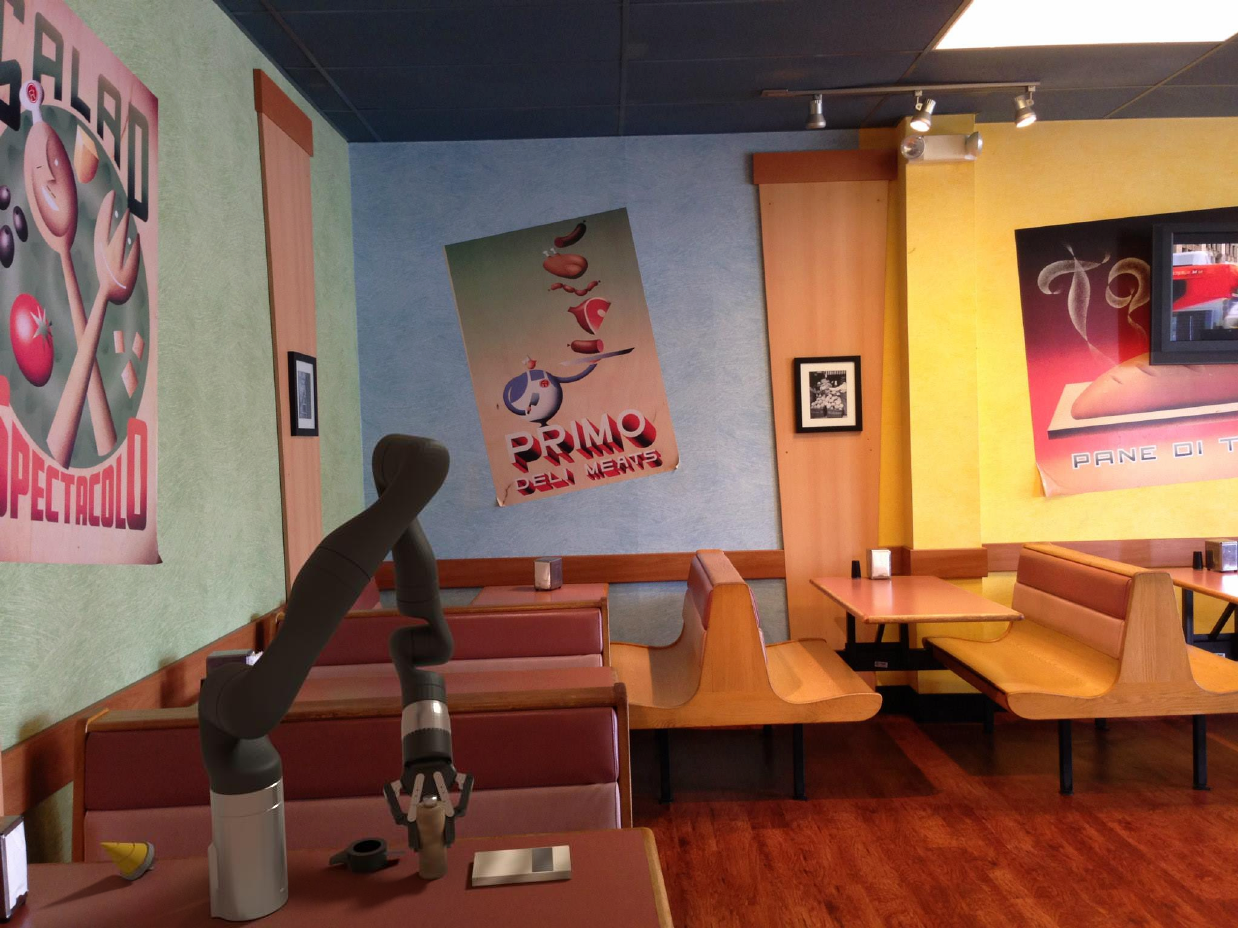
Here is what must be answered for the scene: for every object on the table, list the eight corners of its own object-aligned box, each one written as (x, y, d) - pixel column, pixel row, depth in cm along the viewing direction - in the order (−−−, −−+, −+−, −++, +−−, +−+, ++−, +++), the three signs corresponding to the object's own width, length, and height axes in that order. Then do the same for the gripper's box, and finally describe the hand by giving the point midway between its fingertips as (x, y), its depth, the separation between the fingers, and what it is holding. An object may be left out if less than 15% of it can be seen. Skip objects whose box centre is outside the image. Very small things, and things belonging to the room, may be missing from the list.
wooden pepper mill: (418, 880, 131) (415, 804, 131) (420, 867, 135) (416, 792, 135) (446, 877, 132) (443, 801, 131) (447, 864, 136) (444, 790, 135)
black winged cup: (379, 883, 132) (378, 863, 131) (323, 871, 135) (322, 852, 135) (411, 858, 139) (410, 839, 139) (357, 848, 142) (356, 830, 142)
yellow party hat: (163, 879, 135) (109, 854, 129) (135, 892, 136) (80, 867, 130) (172, 845, 139) (119, 818, 133) (145, 857, 140) (91, 831, 134)
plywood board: (472, 885, 129) (472, 876, 129) (475, 859, 137) (475, 851, 137) (571, 878, 131) (571, 869, 131) (569, 853, 138) (568, 844, 138)
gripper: (378, 730, 138) (380, 845, 127) (473, 720, 142) (483, 831, 130) (380, 753, 144) (382, 864, 133) (471, 742, 147) (481, 851, 136)
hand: (432, 847), depth 132 cm, fingers closed on wooden pepper mill, 4 cm apart
